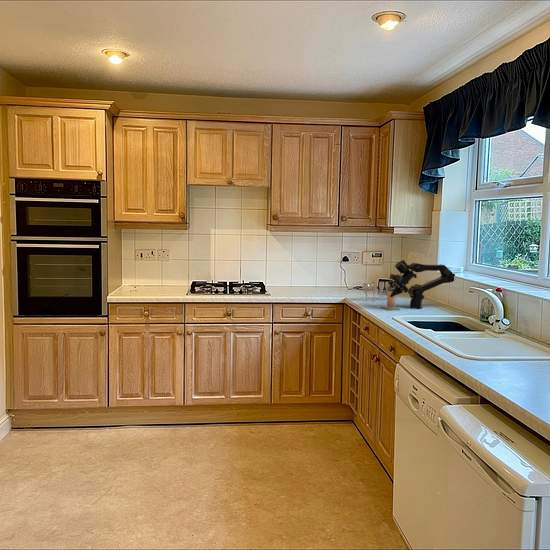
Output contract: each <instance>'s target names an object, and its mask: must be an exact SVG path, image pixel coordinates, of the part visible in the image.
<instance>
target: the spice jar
mask: <svg viewBox="0 0 550 550" xmlns="http://www.w3.org/2000/svg"><path fill="white" fill-rule="evenodd" d="M394 290H395V287H387V290H386V291H387V292H386V300H387V301H386V306H388V307H395V301H394V300H395V296H393V297H390V295H391V294H392V292H393V291H394Z"/></svg>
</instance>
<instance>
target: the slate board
mask: <svg viewBox="0 0 550 550" xmlns="http://www.w3.org/2000/svg"><path fill="white" fill-rule="evenodd" d="M381 307H382V309H384V308H385V309H384V310H386V309H387V310H386V311H389V310H390V311H401V308H398V307H396V306H394V307H388V306H387V305H380V308H381Z"/></svg>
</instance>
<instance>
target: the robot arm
mask: <svg viewBox="0 0 550 550" xmlns="http://www.w3.org/2000/svg"><path fill="white" fill-rule="evenodd" d="M394 268H395V269H396V270H397V271H398V272H399V273H400V274H402V275H400V274H393V273H391V274H390V276H389V279H390V280H389V281H387V282H388V284H389V285H390V287H395V290H394V291H393V292H392V294H391V295H390V297H393V296H395V295H396V296H397V295H400V294H404V293H406V294H407V293H408V295H409V298H410V299H411V300H410V301H409V309H415V308H416V309H418V310H420V308H421V309H422V308H424V307H423V300H424V299H425V296H424V293H425V292H426V291H429V290H430V289H433V288H436V287H438V286H440V285H442V284H448V283H450V284H451V283H452V282H453V281H454V276H455V275H456V274H455V273H454V272H452V271H451V270H450V269H449V268H448V267H447V266H446V265H445V264H422V263H417V262H411V264H408V263H406V261H405V260H404V259H401V261H398V262H396V264H395V266H394ZM426 271H430V272H431V271H432V272H433V271H434V272H435V271H438V272H439V273H440V276H439V277H437V278H435V279H433V280H432V279H431V281H427V282H425V283H423V284H419V283H415V284H414V285H410V287H409V288H408V287H407V286H406V285H409V282H410V281H411V280H412V279H417V278H418V277H417V274H418V273H422V272H426ZM454 282H455V281H454Z"/></svg>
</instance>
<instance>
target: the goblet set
mask: <svg viewBox="0 0 550 550" xmlns="http://www.w3.org/2000/svg"><path fill="white" fill-rule="evenodd" d="M388 282H389V281H379V282H378V284H377V282H374V281H373V282H371V283H363V284H362V291H364V293H365V299H364V301H368V300H367V296H368V293H369V292H370V291H371V289H372V292H373V294H372V295H375V292H376V290H377V285H378V289H379V291H380V297H382V296H383V295H382V294H383V291H384V289H385V290H386V291H387V287H390V285H389V284H388ZM395 300H397V295H395ZM371 302H376V300H375V297H373V300H371Z"/></svg>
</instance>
